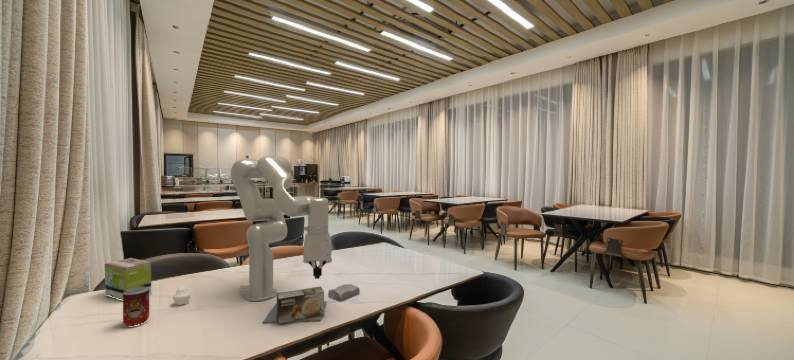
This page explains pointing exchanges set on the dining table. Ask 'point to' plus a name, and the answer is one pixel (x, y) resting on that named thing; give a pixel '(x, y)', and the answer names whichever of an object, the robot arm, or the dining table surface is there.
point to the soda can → (135, 305)
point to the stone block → (343, 292)
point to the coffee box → (300, 304)
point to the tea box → (126, 276)
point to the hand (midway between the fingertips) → (317, 277)
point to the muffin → (181, 296)
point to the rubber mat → (273, 319)
